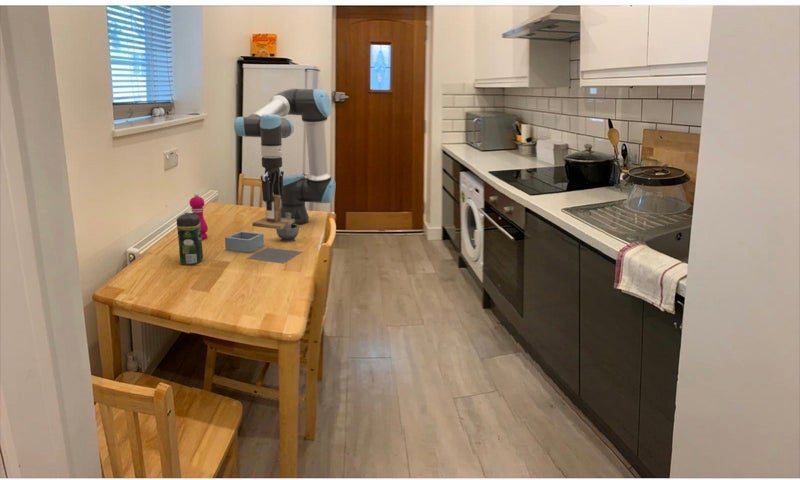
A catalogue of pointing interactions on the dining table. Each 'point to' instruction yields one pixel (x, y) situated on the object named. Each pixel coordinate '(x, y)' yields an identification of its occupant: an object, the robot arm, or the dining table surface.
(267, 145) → the robot arm
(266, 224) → the lid
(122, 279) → the dining table surface
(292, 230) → the mortar and pestle
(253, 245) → the blue-grey square box
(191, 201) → the pepper mill
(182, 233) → the coffee jar
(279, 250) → the mat
